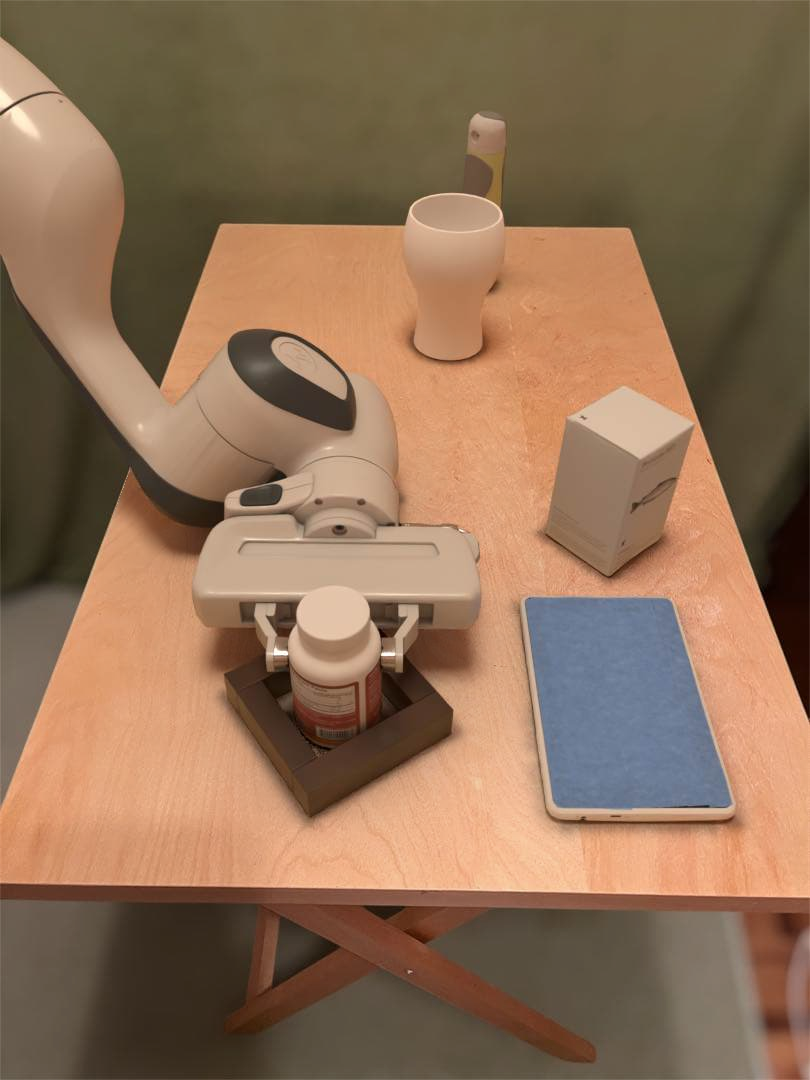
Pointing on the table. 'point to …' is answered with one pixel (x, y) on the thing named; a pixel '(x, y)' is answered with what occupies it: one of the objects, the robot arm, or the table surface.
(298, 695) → the pill bottle
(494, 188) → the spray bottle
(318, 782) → the holder
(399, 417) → the table surface
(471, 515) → the table surface
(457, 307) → the cup
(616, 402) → the white packaging box
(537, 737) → the tablet
